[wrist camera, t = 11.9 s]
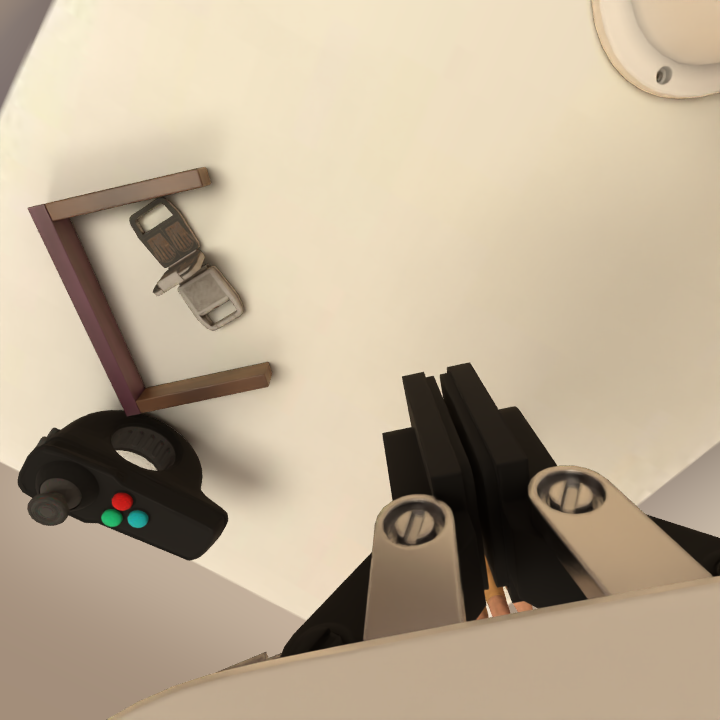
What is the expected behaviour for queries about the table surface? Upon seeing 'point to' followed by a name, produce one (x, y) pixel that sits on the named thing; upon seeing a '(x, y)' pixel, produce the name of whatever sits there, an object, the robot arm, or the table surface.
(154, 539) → the controller
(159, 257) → the strap clip
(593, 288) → the table surface
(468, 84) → the table surface
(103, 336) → the frame
